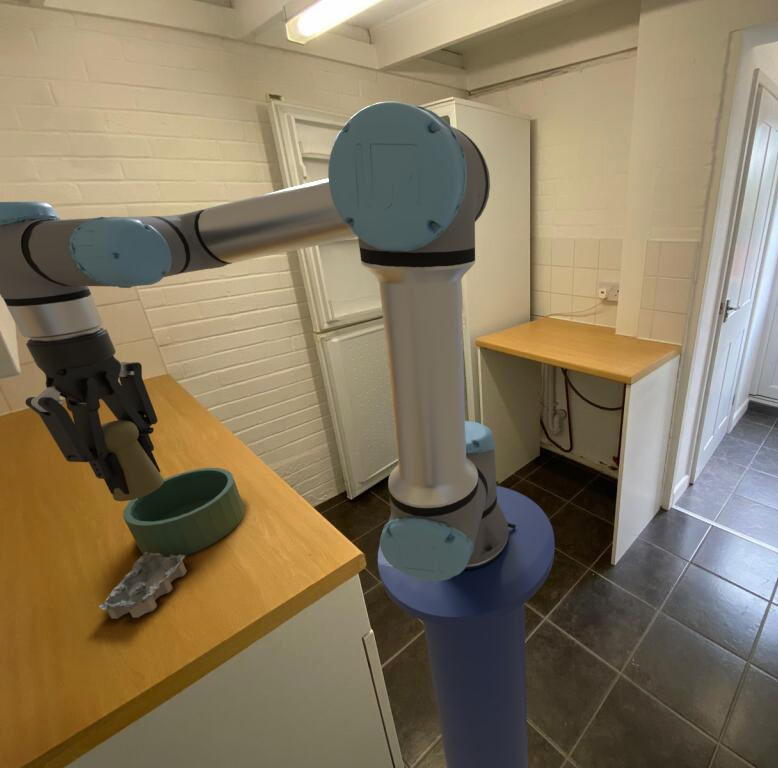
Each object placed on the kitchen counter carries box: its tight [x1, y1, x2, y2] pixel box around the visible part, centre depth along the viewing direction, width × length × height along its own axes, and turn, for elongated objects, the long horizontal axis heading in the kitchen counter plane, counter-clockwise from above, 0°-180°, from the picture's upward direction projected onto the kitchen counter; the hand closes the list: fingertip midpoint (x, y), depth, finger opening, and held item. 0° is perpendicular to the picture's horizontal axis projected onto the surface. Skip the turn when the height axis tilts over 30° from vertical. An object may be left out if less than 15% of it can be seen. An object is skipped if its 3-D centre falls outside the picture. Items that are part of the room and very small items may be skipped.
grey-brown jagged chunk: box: [97, 551, 188, 620], centre depth 69 cm, size 11×8×4 cm
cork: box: [101, 419, 165, 502], centre depth 61 cm, size 6×6×11 cm
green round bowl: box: [122, 467, 245, 557], centre depth 82 cm, size 17×17×8 cm
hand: (136, 481), depth 63 cm, fingers closed on cork, 4 cm apart
